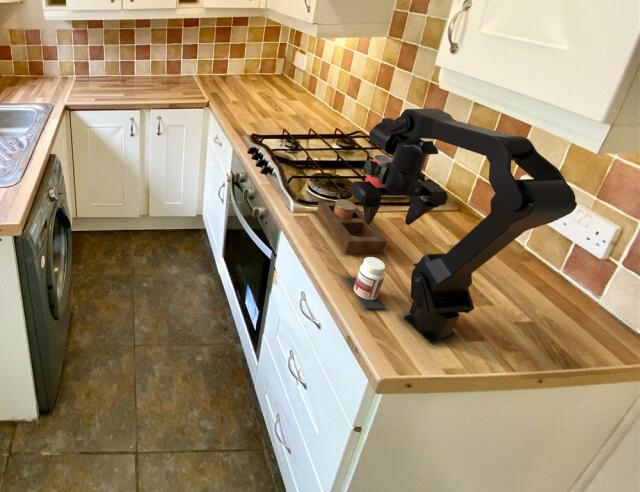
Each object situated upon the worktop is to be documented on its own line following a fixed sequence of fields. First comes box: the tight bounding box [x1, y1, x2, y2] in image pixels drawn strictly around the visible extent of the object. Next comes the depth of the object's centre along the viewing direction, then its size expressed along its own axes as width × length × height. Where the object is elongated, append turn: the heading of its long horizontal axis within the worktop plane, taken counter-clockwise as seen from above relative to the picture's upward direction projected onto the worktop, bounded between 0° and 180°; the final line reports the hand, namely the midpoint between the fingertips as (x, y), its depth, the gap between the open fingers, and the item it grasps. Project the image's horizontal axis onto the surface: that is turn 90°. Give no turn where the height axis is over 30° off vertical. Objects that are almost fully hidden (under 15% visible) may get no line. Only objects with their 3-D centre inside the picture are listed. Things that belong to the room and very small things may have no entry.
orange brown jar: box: [333, 198, 357, 218], centre depth 113 cm, size 5×5×6 cm
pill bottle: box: [353, 256, 386, 300], centre depth 89 cm, size 5×5×8 cm
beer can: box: [364, 154, 393, 188], centre depth 126 cm, size 7×7×12 cm
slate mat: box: [345, 277, 386, 311], centre depth 91 cm, size 9×4×1 cm, turn 179°
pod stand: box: [315, 201, 388, 255], centre depth 110 cm, size 10×17×4 cm, turn 0°
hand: (387, 223), depth 95 cm, fingers open, 9 cm apart
